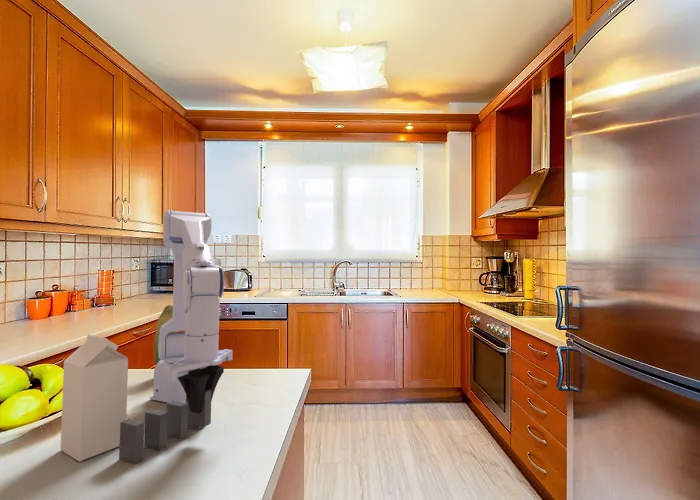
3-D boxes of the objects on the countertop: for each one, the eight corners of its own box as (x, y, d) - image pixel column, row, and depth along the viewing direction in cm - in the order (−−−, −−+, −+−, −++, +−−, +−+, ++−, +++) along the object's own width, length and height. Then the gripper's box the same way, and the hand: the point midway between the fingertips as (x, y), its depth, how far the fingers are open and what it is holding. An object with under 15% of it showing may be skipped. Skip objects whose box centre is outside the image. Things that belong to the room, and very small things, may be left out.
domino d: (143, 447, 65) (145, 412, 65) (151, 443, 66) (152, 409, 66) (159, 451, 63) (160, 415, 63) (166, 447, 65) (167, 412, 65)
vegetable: (182, 377, 104) (184, 305, 105) (159, 382, 99) (162, 307, 100) (172, 372, 108) (174, 303, 109) (149, 377, 103) (151, 305, 104)
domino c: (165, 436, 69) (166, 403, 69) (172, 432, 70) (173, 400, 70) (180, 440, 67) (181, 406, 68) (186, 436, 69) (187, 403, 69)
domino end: (119, 459, 60) (120, 422, 61) (127, 455, 62) (129, 418, 62) (134, 464, 59) (135, 426, 59) (143, 460, 60) (144, 422, 61)
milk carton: (79, 463, 59) (83, 342, 60) (59, 450, 63) (64, 337, 64) (125, 444, 65) (129, 335, 66) (105, 434, 69) (109, 331, 70)
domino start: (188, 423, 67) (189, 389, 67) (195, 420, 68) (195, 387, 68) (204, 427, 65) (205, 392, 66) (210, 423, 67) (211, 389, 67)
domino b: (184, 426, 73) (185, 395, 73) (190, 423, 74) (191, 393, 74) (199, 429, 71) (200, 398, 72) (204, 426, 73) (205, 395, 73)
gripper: (187, 343, 59) (184, 430, 59) (245, 328, 72) (244, 399, 72) (155, 339, 62) (152, 422, 61) (217, 326, 75) (215, 394, 75)
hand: (199, 409), depth 67 cm, fingers closed on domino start, 1 cm apart
